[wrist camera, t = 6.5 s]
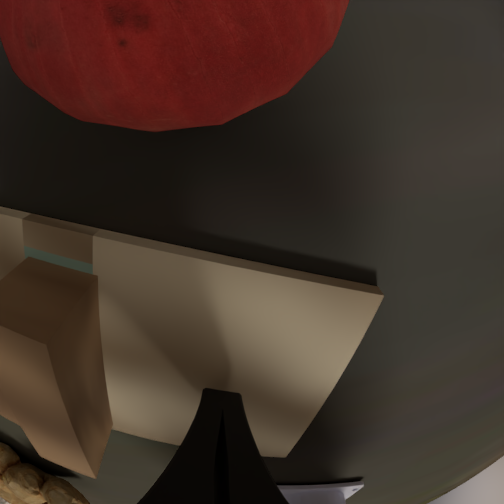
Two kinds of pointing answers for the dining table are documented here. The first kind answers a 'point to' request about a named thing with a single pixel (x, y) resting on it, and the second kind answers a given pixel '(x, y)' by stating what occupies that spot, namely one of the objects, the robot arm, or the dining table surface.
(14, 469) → the ginger root
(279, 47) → the onion
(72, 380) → the t block
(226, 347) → the board
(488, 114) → the dining table surface
